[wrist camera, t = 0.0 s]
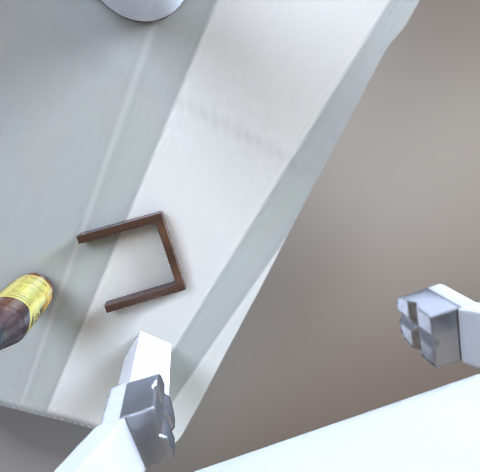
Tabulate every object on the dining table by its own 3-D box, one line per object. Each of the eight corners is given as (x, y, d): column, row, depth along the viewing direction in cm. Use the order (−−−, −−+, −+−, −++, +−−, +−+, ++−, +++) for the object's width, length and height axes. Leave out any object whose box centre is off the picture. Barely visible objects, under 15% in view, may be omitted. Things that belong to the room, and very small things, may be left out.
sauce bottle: (31, 314, 59) (-39, 397, 40) (4, 284, 57) (-83, 357, 38) (66, 292, 59) (11, 365, 40) (40, 262, 57) (-30, 323, 38)
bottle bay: (79, 233, 57) (76, 236, 55) (161, 210, 58) (161, 213, 56) (109, 307, 60) (106, 313, 58) (185, 284, 62) (185, 289, 60)
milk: (124, 357, 63) (95, 466, 42) (140, 330, 62) (119, 427, 41) (156, 370, 65) (143, 481, 44) (172, 343, 64) (166, 443, 43)
